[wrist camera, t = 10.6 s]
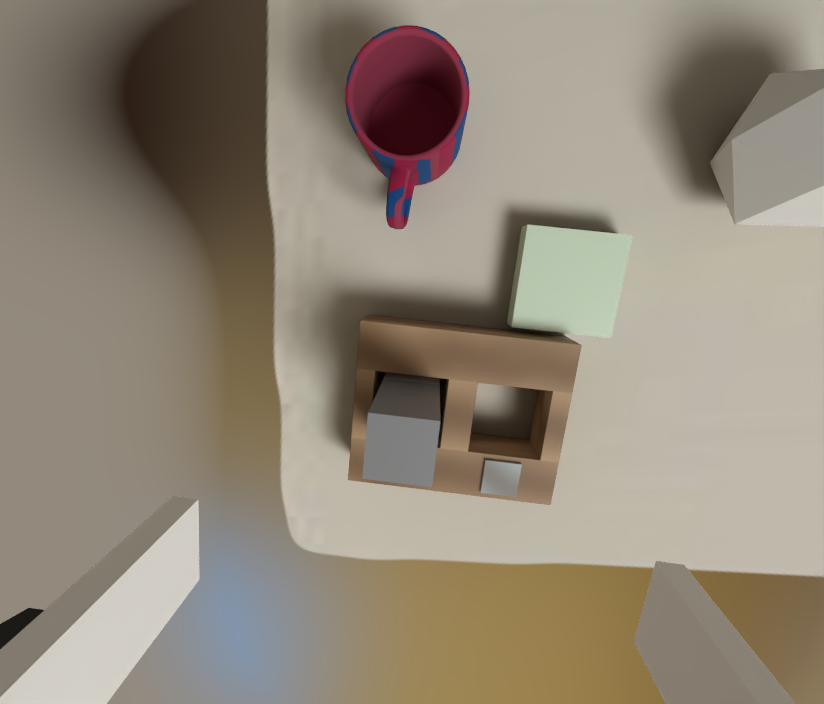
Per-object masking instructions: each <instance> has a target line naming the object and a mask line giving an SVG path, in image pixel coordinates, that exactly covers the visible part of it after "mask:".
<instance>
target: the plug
mask: <svg viewBox="0 0 824 704" xmlns="http://www.w3.org/2000/svg"><path fill="white" fill-rule="evenodd" d="M439 429H440V389H439V378H434V377H425V376H416V375H408V374H399V373H390V372H386V374H385V377H384V379H383V381H382V383H381V385H380V387H379V390H378V392H377V394H376V396H375V398H374V400H373V403H372V405H371V407H370V409H369V411H368V418H367V429H366V441H365V453H364V464H363V476H362V479H368V480H376V481H384V482H392V483H400V484H408V485H416V486H424V487H432V485H433V477H434V469H435V461H436V453H437V445H438V437H439Z"/></svg>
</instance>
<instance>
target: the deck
mask: <svg viewBox="0 0 824 704" xmlns="http://www.w3.org/2000/svg"><path fill="white" fill-rule="evenodd" d="M632 237H633V235H626V234H616V233H606V232H596V231H587V230H577V229H567V228H557V227H548V226H538V225H528V224H527V225H525V226H523V227H521V234H520V240H519V247H518V253H517V260H516V266H515V273H514V279H513V286H512V292H511V299H510V305H509V312H508V318H507V324H508V325H509V326H511V327H515V328H524V329H533V330H542V331H551V332H560V333H569V334H578V335H587V336H596V337H605V338H611V337H612V333H613V328H614V323H615V318H616V314H617V309H618V304H619V299H620V295H621V290H622V285H623V280H624V275H625V271H626V266H627V261H628V256H629V252H630V247H631V242H632Z"/></svg>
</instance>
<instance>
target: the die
mask: <svg viewBox="0 0 824 704" xmlns="http://www.w3.org/2000/svg"><path fill="white" fill-rule="evenodd" d="M710 165H711V167H712V170H713V172H714V175H715V177H716V179H717V182H718V184H719V187H720V189H721V192H722V194H723V197H724V199H725V202H726V204H727V206H728V209H729V211H730V214H731V216H732V219H733V221H734V224H749V225H781V226H813V227H824V69H817V70H805V71H793V72H781V73H770V74H769V76H768V77H767V79H766V80H765V82H764V83H763V85H762V86H761V88H760V89H759V90H758V92H757V93H756V95H755V96H754V98H753V99H752V101H751V102H750V104H749V105H748V107H747V108H746V110H745V111H744V113H743V114H742V116H741V117H740V119H739V120H738V122H737V123H736V125H735V126H734V127H733V129H732V130H731V132H730V133H729V135H728V136H727V138H726V139H725V141H724V142H723V144H722V145H721V147H720V148H719V150H718V151H717V153H716V154H715V156H714V157H713V159H712V160H711V162H710Z"/></svg>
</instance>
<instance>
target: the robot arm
mask: <svg viewBox="0 0 824 704" xmlns="http://www.w3.org/2000/svg"><path fill="white" fill-rule="evenodd" d="M198 511H199V510H198V499H191V498H183V497H177V496H173V497H171V498H170V499H169V500H168V501H167V502H166V503H164V504H163V505H162V506H161V507H160V508H159V509H158V510H157V511H156V512H154V513H153V514H152V515H151V516H150V517H149V518H148V519H146V520H145V521H144V522H143V523H142V524H141V525H140V526H139V527H137V528H136V529H135V530H134V531H133V532H132V533H131V534H130V535H128V536H127V537H126V538H125V539H124V540H123V541H122V542H121V543H120V544H118V545H117V546H116V547H115V548H114V549H113V550H112V551H110V552H109V553H108V554H107V555H106V556H105V557H104V558H103V559H101V560H100V561H99V562H98V563H97V564H96V565H95V566H94V567H92V568H91V569H90V570H89V571H88V572H87V573H86V574H85V575H84V576H82V577H81V578H80V579H79V580H78V581H77V582H76V583H74V584H73V585H72V586H71V587H70V588H69V589H68V590H67V591H66V592H64V593H63V594H62V595H61V596H60V597H59V598H58V599H57V600H55V601H54V602H53V603H52V604H51V605H50V606H49V607H48V608H47V609H45V610H40V609H32V608H28V609H26V610H24V611H23V612H21V613H19V614H17V615H16V616H14V617H12V618H10V619H9V620H7V621H5V622H3V623H1V624H0V704H107V702H108V701H109V699H110V698H111V697H112V695H113V694H114V693H115V692H116V690H117V689H118V688H119V686H120V685H121V683H122V682H123V681H124V679H125V678H126V677H127V675H128V674H129V673H130V671H131V670H132V669H133V667H134V666H135V665H136V663H137V662H138V661H139V659H140V658H141V657H142V655H143V654H144V653H145V651H146V650H147V649H148V647H149V646H150V645H151V643H152V642H153V641H154V639H155V638H156V637H157V635H158V634H159V632H160V631H161V630H162V629H163V627H164V626H165V624H166V623H167V622H168V621H169V619H170V618H171V617H172V615H173V614H174V613H175V611H176V610H177V609H178V607H179V606H180V605H181V603H182V602H183V600H184V599H185V598H186V597H187V595H188V594H189V593H190V591H191V590H192V589H193V587H194V586H195V585H196V583H197V582H198V580H199V512H198ZM634 643H635V645H636V647H637V649H638V651H639V653H640V655H641V657H642V658H643V661H644V663H645V664H646V666H647V668H648V670H649V672H650V674H651V676H652V678H653V680H654V682H655V684H656V686H657V688H658V690H659V692H660V694H661V696H662V698H663V700H664V702H665V704H795V702H794V701H793V700H792V699H791V697H790V696H789V695H788V694H787V692H786V691H785V690H784V689H783V688H782V687H781V685H780V684H779V682H778V681H777V680H776V679H775V678H774V676H773V675H772V674H771V673H770V671H769V670H768V669H767V668H766V666H765V665H764V664H763V663H762V661H761V660H760V659H759V658H758V657H757V655H756V654H755V653H754V651H753V650H752V649H751V648H750V646H749V645H748V644H747V643H746V641H745V640H744V639H743V638H742V636H741V635H740V634H739V633H738V631H737V630H736V629H735V628H734V626H733V625H732V624H731V623H730V621H729V620H728V619H727V618H726V617H725V615H724V614H723V613H722V612H721V610H720V609H719V608H718V607H717V605H716V604H715V603H714V602H713V600H712V599H711V598H710V597H709V595H708V594H707V593H706V592H705V591H704V589H703V588H702V587H701V585H700V584H699V583H698V582H697V580H696V579H695V578H694V577H693V575H692V574H691V573H690V572H689V570H688V569H687V568H686V567H685V566H684V565H681V564H674V563H666V562H659V561H656V563H655V567H654V570H653V574H652V578H651V581H650V585H649V589H648V592H647V596H646V599H645V603H644V606H643V610H642V613H641V617H640V621H639V624H638V628H637V631H636V635H635V638H634Z"/></svg>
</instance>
